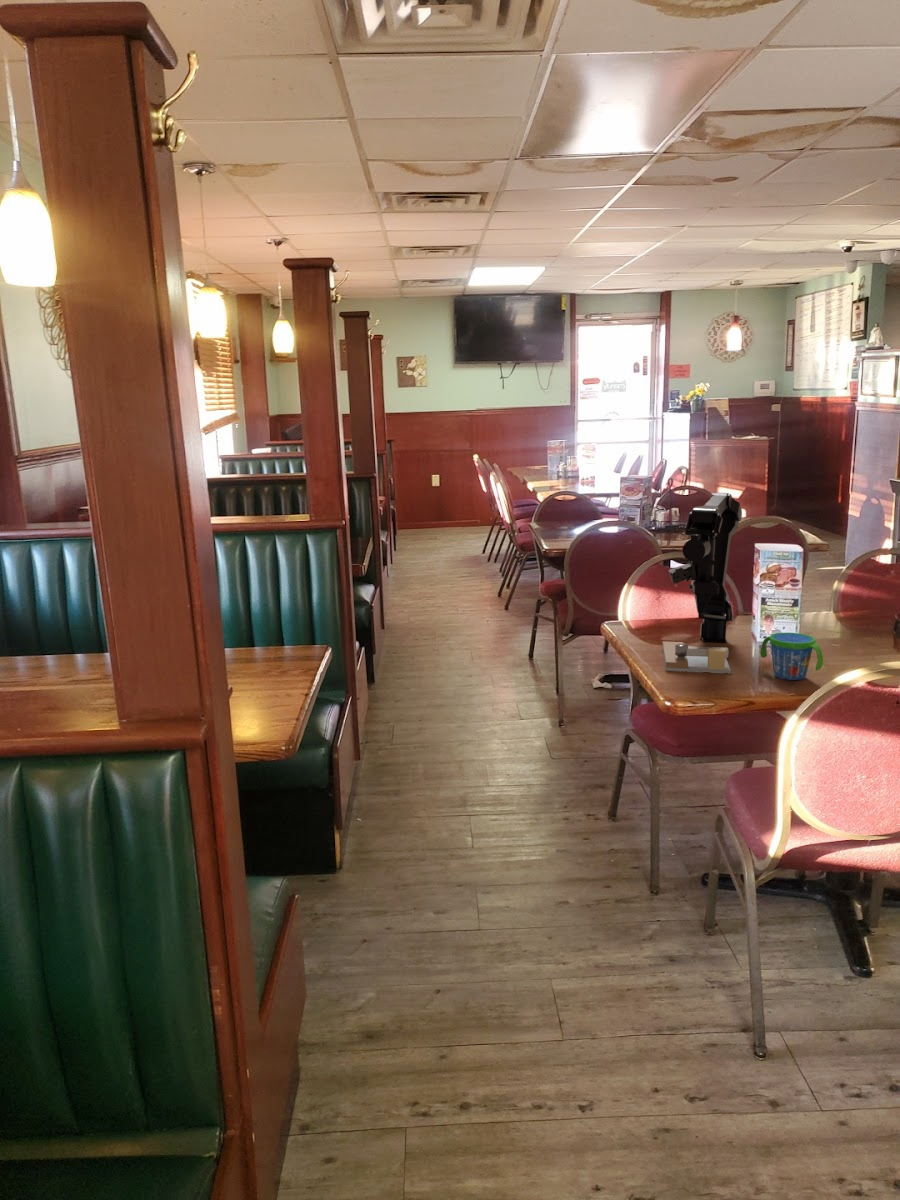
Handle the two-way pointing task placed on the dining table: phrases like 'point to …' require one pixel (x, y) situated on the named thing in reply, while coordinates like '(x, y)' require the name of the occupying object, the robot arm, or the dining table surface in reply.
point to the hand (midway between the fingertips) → (699, 613)
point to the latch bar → (694, 650)
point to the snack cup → (791, 654)
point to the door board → (695, 660)
